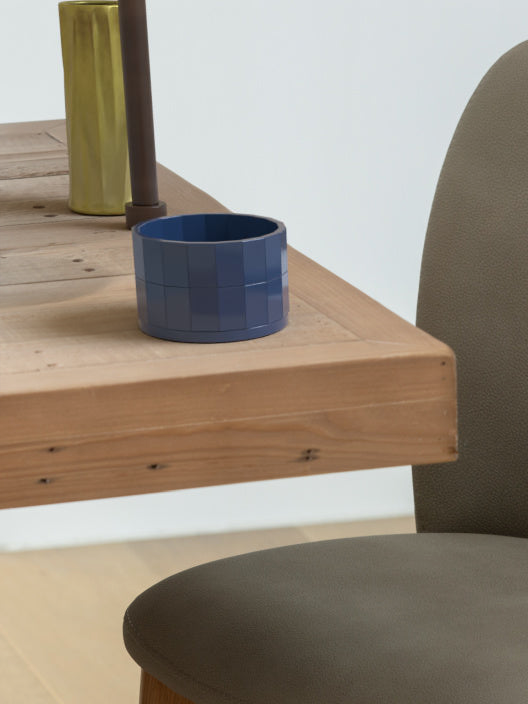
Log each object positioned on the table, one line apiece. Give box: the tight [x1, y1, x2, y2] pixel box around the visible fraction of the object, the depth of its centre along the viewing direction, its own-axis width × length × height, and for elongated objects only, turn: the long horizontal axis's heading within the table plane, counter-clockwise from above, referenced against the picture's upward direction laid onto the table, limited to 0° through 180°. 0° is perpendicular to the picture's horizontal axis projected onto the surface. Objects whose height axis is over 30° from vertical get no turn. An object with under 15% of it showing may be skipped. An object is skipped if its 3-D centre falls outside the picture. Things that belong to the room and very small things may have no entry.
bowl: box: [130, 212, 290, 344], centre depth 83 cm, size 8×8×5 cm
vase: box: [57, 0, 132, 216], centre depth 111 cm, size 6×6×14 cm
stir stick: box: [117, 0, 168, 230], centre depth 104 cm, size 3×3×15 cm
